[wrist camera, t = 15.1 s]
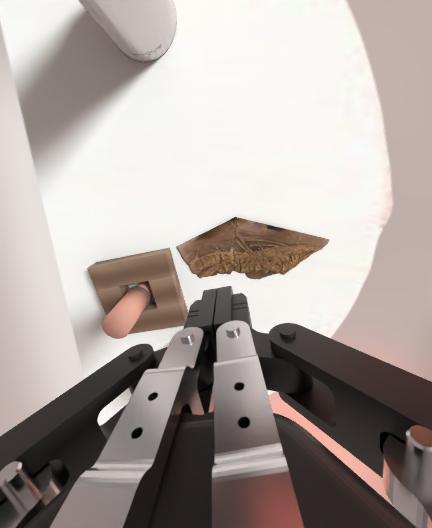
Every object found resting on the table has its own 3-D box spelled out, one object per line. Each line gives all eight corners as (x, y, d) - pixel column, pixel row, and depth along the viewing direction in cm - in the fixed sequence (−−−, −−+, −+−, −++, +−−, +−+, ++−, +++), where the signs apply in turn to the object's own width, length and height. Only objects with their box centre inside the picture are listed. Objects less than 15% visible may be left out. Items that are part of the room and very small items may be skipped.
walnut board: (96, 262, 45) (87, 267, 42) (169, 247, 43) (165, 252, 40) (121, 326, 49) (115, 336, 46) (189, 316, 47) (186, 325, 44)
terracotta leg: (129, 281, 46) (96, 316, 34) (151, 277, 45) (124, 311, 34) (136, 301, 47) (107, 341, 36) (158, 298, 46) (134, 337, 35)
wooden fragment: (179, 277, 45) (178, 279, 44) (174, 217, 41) (173, 218, 40) (322, 277, 44) (324, 280, 43) (331, 215, 40) (333, 216, 39)
